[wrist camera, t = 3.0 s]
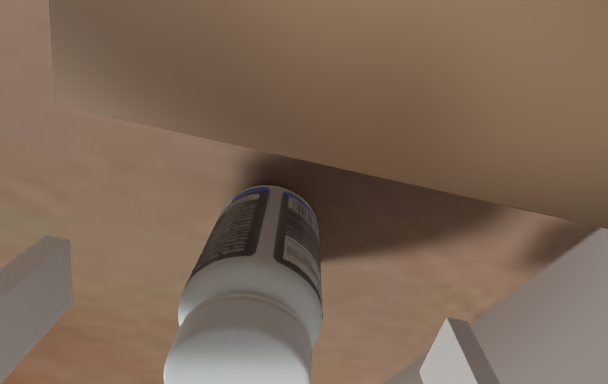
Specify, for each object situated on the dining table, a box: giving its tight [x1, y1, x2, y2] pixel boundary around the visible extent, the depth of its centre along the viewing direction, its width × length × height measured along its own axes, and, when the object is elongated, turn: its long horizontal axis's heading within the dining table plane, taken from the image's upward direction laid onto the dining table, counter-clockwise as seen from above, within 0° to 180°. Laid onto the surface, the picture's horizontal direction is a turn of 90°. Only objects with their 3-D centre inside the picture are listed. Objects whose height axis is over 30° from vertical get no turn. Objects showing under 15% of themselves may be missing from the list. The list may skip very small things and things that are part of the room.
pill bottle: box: [164, 185, 323, 384], centre depth 13 cm, size 5×5×8 cm
